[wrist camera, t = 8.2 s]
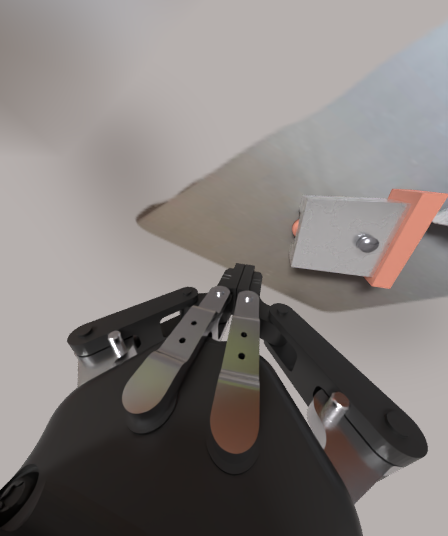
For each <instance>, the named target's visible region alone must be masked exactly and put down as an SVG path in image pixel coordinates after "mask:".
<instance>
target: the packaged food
mask: <svg viewBox="0 0 448 536" xmlns="http://www.w3.org/2000/svg"><path fill="white" fill-rule="evenodd" d="M432 223H433V224H439V225H444V226H448V208H446V209H444V210H442V211H438V213H437V214H436V216H435V218H434V219H433V221H432Z"/></svg>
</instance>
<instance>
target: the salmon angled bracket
mask: <svg viewBox="0 0 448 536" xmlns="http://www.w3.org/2000/svg"><path fill="white" fill-rule="evenodd" d="M447 197H448V194H444V193H436V192H427V191H419V190H404V189H392V191H391V193H390V195H389V197H388V199H392V200H397V201H402V202H406V203H411V204H412V205H411V207H410V209H409V210H408V212H407V214H406V216H405V218H404V220H403V221H402V223H401V225H400V227H399V229H398V231H397V233H396V234H395V236H394V238H393V240H392V242H391V244H390V245H389V247H388V249H387V251H386V253H385V255H384V257H383V258H382V260H381V262H380V264H379V266H378V268H377V269H376V271H375V273H374V275H373V277H366V276H363V277H364V278H365V279H366V280H367V281H368V283H369V284H370V285H371V286H374V287H382V288H389V289H390V288H391V286H392V284H393V283H394V281H395V280H396V278H397V276H398V275H399V273H400V272H401V270H402V269H403V267H404V265H405V264H406V262H407V261H408V259H409V257H410V256H411V254H412V253H413V251H414V249H415V248H416V246H417V245H418V243H419V241H420V240H421V238H422V237H423V235H424V233H425V232H426V230H427V229H428V227H429V225H430V224H431V222H432V221H433V219H434V218H435V216H436V214H437V213H438V211H439V210H440V208H441V206H442V205H443V203H444V202H445V200H446V198H447ZM298 223H299V219H298V220H296V221H295V222H294V224H293V226H292V231H293V234H294V236H295V235H296V231H297V227H298Z"/></svg>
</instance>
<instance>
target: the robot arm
mask: <svg viewBox="0 0 448 536" xmlns="http://www.w3.org/2000/svg"><path fill="white" fill-rule="evenodd" d="M254 269H255V266H254V265H245V264H239V263H236V265H235V267H234V269H232V268H229V269H227V270H226V271H225V272H224V274H223V276H222V278H221V280H220V282H219V284H218V285H217V286H215V287H213V288H211V289H210V291H209V292H208V293H199V294H198V291H197V289H195V288H193V287H185V288H181V289H179V290H176V291H173V292H171V293H168V294H165V295H162V296H160V297H157V298H155V299H152V300H149V301H147V302H144V303H141V304H138V305H135V306H133V307H130V308H128V309H125V310H122V311H119V312H116V313H114V314H111V315H108V316H106V317H103V318H101V319H98V320H95V321H92V322H89V323H87V324H84V325H82V326H80V327H78V328H77V329H75V330H74V331H73V332H72V333H71V334H70V335H69V337H68V339H67V342H68V344H69V345H70V347H71V348H72V350H73V351H74V354H75V356H76V357H77V359H78V388H77V389H75V390H74V391H73V392H72V393H71V394H70V395H69V396H68V397H66V399H65V400H64V401H63V402H62V403H61V404H60V406H59V407H58V408H57V409H56V411H55V412H54V414H53V415H52V417H51V419H50V421H49V423H48V425H47V426H46V429H45V431H44V432H43V434H42V436H41V438H40V440H39V442H38V443H37V445H36V446H35V448H34V450H33V451H32V453H31V454H30V456H29V457H28V458H27V460H26V461H25V463H24V464H23V465H22V467H21V468H20V469H19V471H18V472H17V473H16V474H15V476H14V477H13V478H12V479H11V480H10V481H9V482H8V483H7V484H6V485H5V486H4V487H3V488H2V489H1V490H0V536H363V534H362V529H361V525H360V521H359V518H358V515H357V512H356V509H355V506H354V504H355V503H356V502H357V501H358V500H359V499H360V498H361V497H362V496H363V495H364V494H365V493H366V492H367V491H368V490H369V489H370V488H371V487H372V486H373V485H374V484H375V483H376V482H378V481H380V480H382V479H384V478H385V477H387V476H389V475H391V474H392V473H394V472H396V471H398V470H400V469H402V468H404V467H406V466H408V465H409V464H411V463H413V462H415V461H417V460H419V459H421V458H422V457H424V456H425V455H426V454H427V451H428V446H427V442H426V439H425V437H424V435H423V433H422V432H421V430H420V429H419V427H418V426H417V424H416V423H415V422H414V421H413V420H412V419H411V418H410V417H409V416H408V415H407V414H406V413H405V412H404V411H403V410H402V409H400V408H399V407H398V406H397V405H396V404H395V403H394V402H393V401H392V400H391V399H390V398H388V397H387V396H386V395H385V394H384V393H383V392H382V391H381V390H380V389H379V388H378V387H377V386H375V385H374V384H373V383H372V382H371V381H370V380H369V379H368V378H367V377H366V376H365V375H364V374H362V373H361V372H360V371H359V370H358V369H357V368H356V367H355V366H354V365H353V364H352V363H350V362H349V361H348V360H347V359H346V358H345V357H344V356H343V355H342V354H341V353H339V352H338V351H337V350H336V349H335V348H334V347H333V346H332V345H331V344H330V343H329V342H327V341H326V340H325V339H324V338H323V337H322V336H321V335H320V334H319V333H318V332H317V331H315V330H314V329H313V328H312V327H311V326H310V325H309V324H308V323H307V322H306V321H305V320H304V319H302V318H301V317H300V316H299V315H298V314H297V313H296V312H295V311H293V309H292V308H290V307H289V306H287V305H285V304H281V303H277V304H273V305H271V306H269V305H267V304H265V303H264V302H262V300H261V299H260V290H261V283H262V274H261V273H260V272H254ZM177 311H180V315H178V316H176V317H174V318H172V319H170V320H168V321H165V322H163V323H160V321H161V319H162V318H164V317H166V316H168V315H170V314H173V313H175V312H177ZM231 315H233V316H232V321H231V325H230V330H229V335H228V339H227V341H221V340H222V337H223V335H224V333H225V331H226V328H227V326H228V324H229V318H230V316H231ZM260 338H261V339H263V340H264V344H265V346H266V347H267V349H268V350H269V351H270V353H271V354H272V355H273V357H274V359H275V360H276V361H277V363H278V364H279V366H280V367H281V368H282V370H283V371H284V373H285V374H286V376H287V377H288V378H289V380H290V381H291V382H292V384H293V385H294V387H295V388H296V390H297V391H298V393H299V394H300V396H301V397H302V398H303V400H304V401H305V403H306V404H307V406H308V409H307V419H308V422H309V424H310V427H311V428H312V430H313V432H314V433H313V432H312V430H311V428H310V427H309V425H308V424H307V422H306V420H305V419H304V417H303V415H302V414H301V412H300V411H299V409H298V407H297V406H296V404H295V403H294V401H293V399H292V398H291V396H290V394H289V393H288V391H287V390H286V388H285V386H284V385H283V383H282V381H281V380H280V378H279V377H278V375H277V373H276V372H275V370H274V369H273V368H272V366H271V365H270V364H269V363H268V362H267V361H266V360H265V359H264V358H263V357H262V356H260V355H259V341H260Z"/></svg>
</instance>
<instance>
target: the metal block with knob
mask: <svg viewBox="0 0 448 536" xmlns="http://www.w3.org/2000/svg"><path fill="white" fill-rule="evenodd" d="M411 205H412V204H411V203H406V202H402V201H397V200H392V199H388V198H365V197H342V196H319V195H302V198H301V203H300V207H299V211H300V212H301V214H300V218H299V223H298V227H297V231H296V235H295V240H294V243H291V246H290V251H289V258H290V264H291V267H296V268H304V269H312V270H320V271H327V272H335V273H343V274H350V275H358V276H366V277H373V275H374V273H375V271H376V269H377V268H378V266H379V264H380V262H381V260H382V258H383V257H384V255H385V253H386V251H387V249H388V247H389V245H390V244H391V242H392V240H393V238H394V236H395V234H396V233H397V231H398V229H399V227H400V225H401V223H402V221H403V220H404V218H405V216H406V214H407V212H408V210H409V209H410V207H411Z"/></svg>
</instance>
